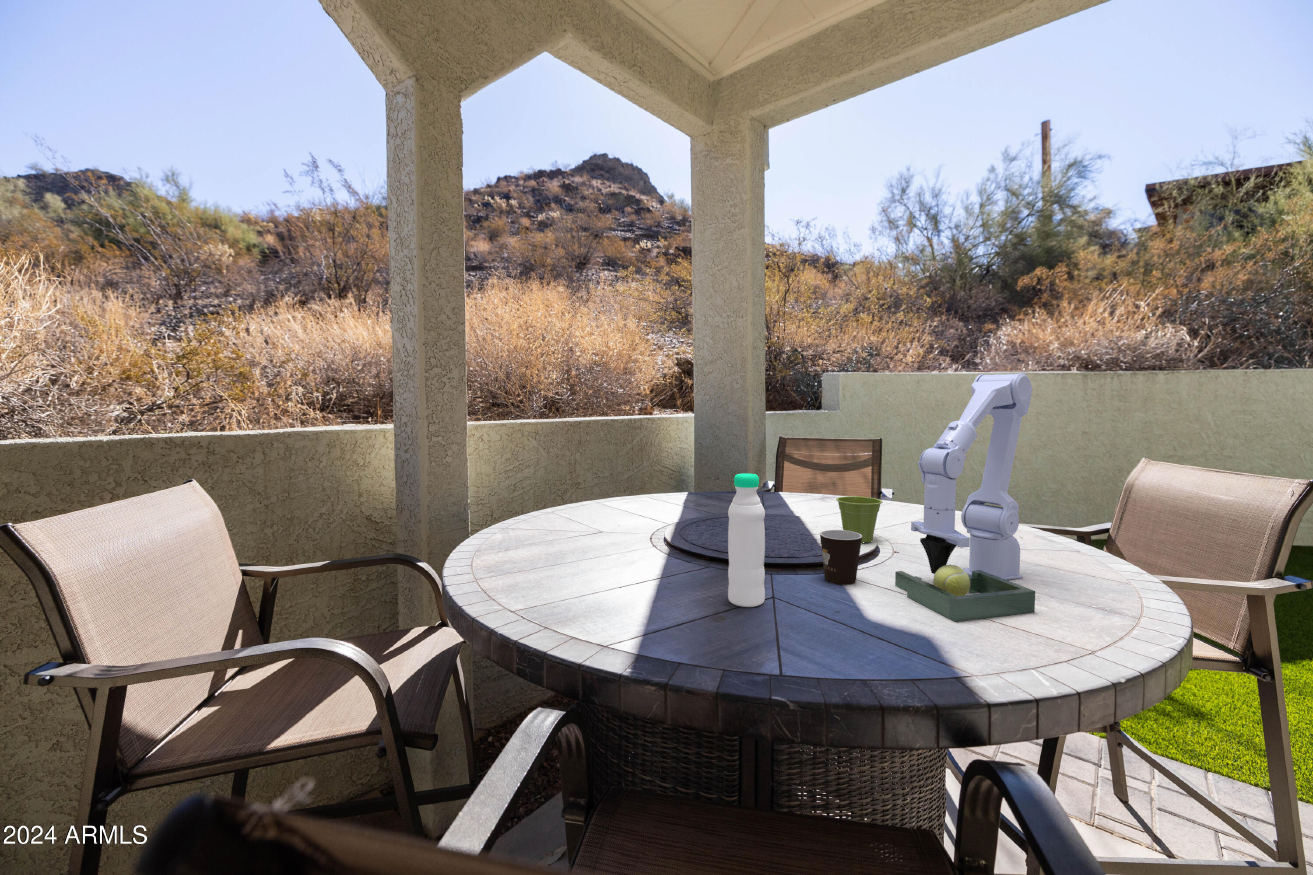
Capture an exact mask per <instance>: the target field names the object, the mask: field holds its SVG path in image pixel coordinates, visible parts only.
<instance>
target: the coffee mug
mask: <svg viewBox="0 0 1313 875" xmlns="http://www.w3.org/2000/svg"><path fill="white" fill-rule="evenodd" d="M819 536H820V538H819V539H820V547H821V556H822V566H823V574H824V576H823V577H824V580H825V582H827V583H829V584H832V585H837V586H850V585H854V584H855V583H856V582H857V574H858V570H859V560H860V554H861V546H862V544H861V541H862V535H861V534H859V533H856V532H852V531H846V530H843V529H829V530H828V529H827V530H823V531H821V532H820V533H819Z"/></svg>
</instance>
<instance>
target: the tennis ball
mask: <svg viewBox="0 0 1313 875" xmlns="http://www.w3.org/2000/svg"><path fill="white" fill-rule="evenodd" d="M962 568H963V567H960V566H958V565H955V564H946V565H944V566H942V567H940V568H939V569H938V570H937V571H936V573H935V574H933V579H932V580H933V581H932V585H934V586H936V587H938V588H940V589H943V590H945V591H947V592H949V593H951V594H953V595H956V596H963V595H968V593H969V590H970V579H969V576H968V574H967V573H966V572H965V571H964V570H963V569H962Z"/></svg>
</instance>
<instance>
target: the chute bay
mask: <svg viewBox="0 0 1313 875" xmlns="http://www.w3.org/2000/svg"><path fill="white" fill-rule="evenodd" d="M894 575H895V576H894V577H895V578H894V580H895V584H894V586H895V587H897V588H900V589H902V590H903V591H905V592H906V596H907V598H908V599H910V600H912V601H914V602H916V603H918V604H920V605H922V606H924V607H926V608H927V609H930V610H931V611H933V612H935V613H938V614H939V615H941V616H943V617H946V618H947V619H949V620H951V621H952V622H955V623H958V622H966V621H974V620H983V619H989V618H999V617H1007V616H1008V617H1009V616H1014V615H1015V616H1017V615H1023V614H1031V613H1033V614H1034V613H1035V609H1036V607H1035V606H1036V605H1035V604H1036V590H1033V589H1031V588H1028V587H1026V586H1023V585H1020V584H1018V583H1016V582H1013V581H1010V580H1009V579H1007V580H1005V579H1002V578H1000V577H997V576H995V575H992V574H989V573H987V572H984V571H981V570H975V571H972V576H971V575H969V574H968V576H969V579H970V590H969V592H968V593H969V594H966V595H963V596H956V595H953V594H951V593H949V592H947V591H945V590H943V589H940V588H938V587H936V586H934V585H933V583H932V584H931V583H930V582H927V581H925V580H923V579H922V578H921V577H919V576H914V575H912V574H910V573H907V572H905V571H903V570H897V571H895V574H894Z"/></svg>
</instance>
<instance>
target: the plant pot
mask: <svg viewBox="0 0 1313 875" xmlns="http://www.w3.org/2000/svg"><path fill="white" fill-rule="evenodd" d="M835 500H836V501H837V503H838V509H839V510H840V518H841V526H842V530H846V531H852V532H856V533H859V534H861V535H862V541H861V543H862V544H864V543H863V542H866V543H868V542H870V543H872V542H873V538H874V533H875V528H876V524H877V518H878V515H879V514H878V513H879V511H880V507H881V504H883V500H881V499H880V498H879V499H878V498H874V497H870V496H869V497H866V496H852V495H851V496H850V495H849V496H840V497H836V499H835ZM871 541H872V542H871Z"/></svg>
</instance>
